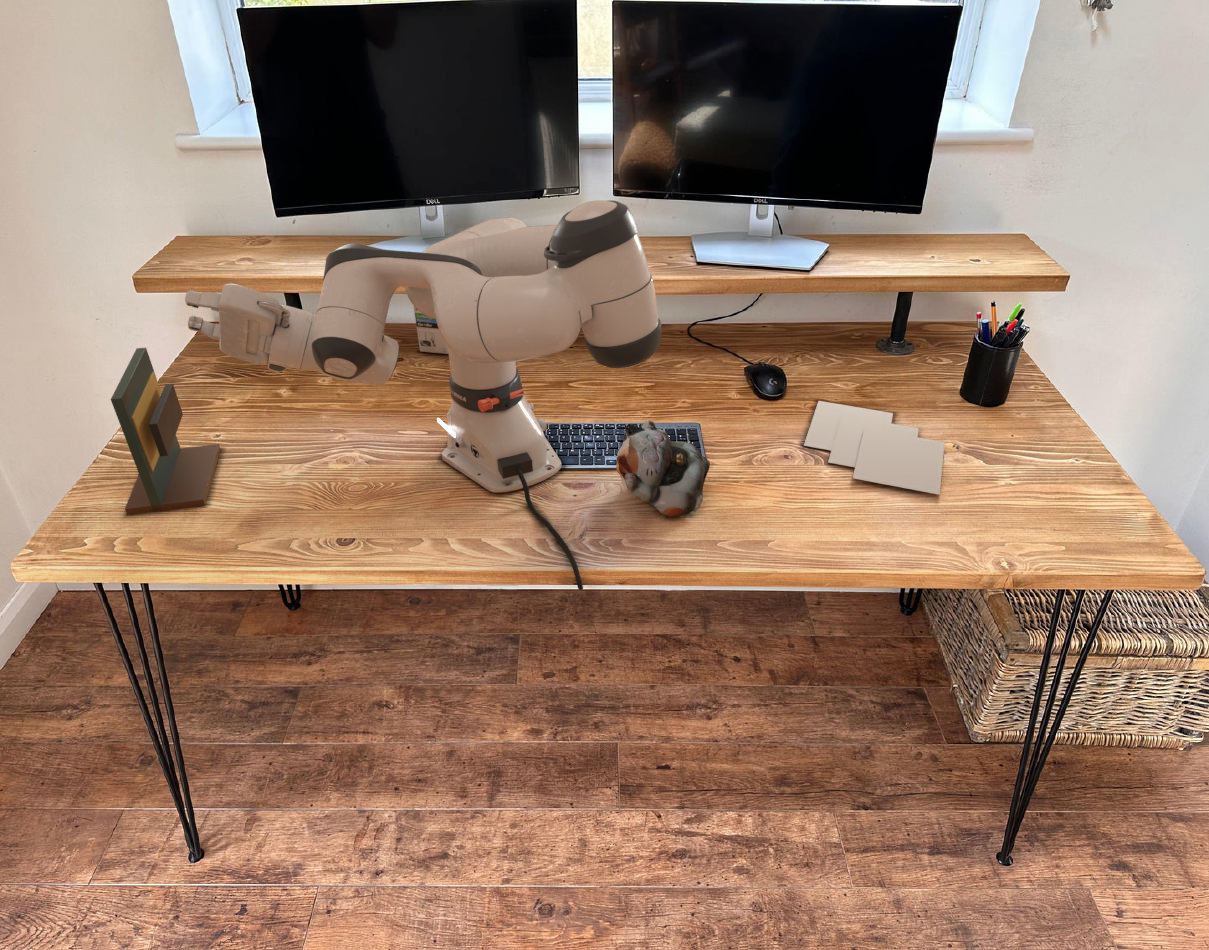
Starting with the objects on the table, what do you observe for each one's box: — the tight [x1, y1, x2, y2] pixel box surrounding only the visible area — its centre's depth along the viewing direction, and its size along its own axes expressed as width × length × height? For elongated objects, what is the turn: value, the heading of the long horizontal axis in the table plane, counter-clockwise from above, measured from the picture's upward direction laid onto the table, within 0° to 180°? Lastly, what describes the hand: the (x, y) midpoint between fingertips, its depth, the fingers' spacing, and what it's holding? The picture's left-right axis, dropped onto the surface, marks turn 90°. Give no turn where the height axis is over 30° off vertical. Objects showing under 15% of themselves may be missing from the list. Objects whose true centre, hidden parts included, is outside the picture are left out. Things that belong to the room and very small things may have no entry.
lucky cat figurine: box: [615, 419, 711, 518], centre depth 142 cm, size 15×12×14 cm
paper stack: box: [803, 400, 946, 496], centre depth 156 cm, size 23×25×1 cm
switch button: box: [149, 383, 184, 456], centre depth 143 cm, size 1×13×6 cm, turn 11°
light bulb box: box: [412, 304, 449, 355], centre depth 189 cm, size 11×7×11 cm, turn 168°
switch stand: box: [110, 347, 222, 516], centre depth 144 cm, size 12×17×21 cm
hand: (187, 310), depth 127 cm, fingers open, 8 cm apart
